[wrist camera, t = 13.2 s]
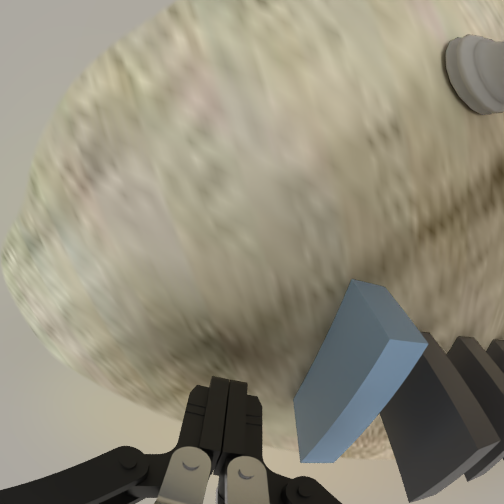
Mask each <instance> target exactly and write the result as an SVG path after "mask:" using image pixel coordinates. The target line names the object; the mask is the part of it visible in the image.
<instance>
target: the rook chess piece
mask: <svg viewBox="0 0 504 504" xmlns="http://www.w3.org/2000/svg"><path fill="white" fill-rule="evenodd" d="M446 70H447V73H448V76H449V79H450V83H451V84H452V86H453V88H454V89H455V91H456V93H457V94H458V96H459V97H460V98H461V99H462V100H463V101H464V102H465V103H466V104H467V105H468V106H469V107H470V108H471V109H472V110H474V111H476V112H478V113H480V114H482V115H485V114H492V113H502V112H504V42H495V41H493V40H492V39H487V38H484V37H482V36H476V35H466V36H464V37H463V38H460V37H457V38H455V39H454V40H452V41H450V42H449V45H448V48H447V50H446Z"/></svg>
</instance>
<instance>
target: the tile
mask: <svg viewBox="0 0 504 504" xmlns="http://www.w3.org/2000/svg"><path fill="white" fill-rule="evenodd" d="M427 346H428V342H427V341H426V340H425V338H424V337H423V336H422V334H421V333H420V331H419V330H418V329H417V327H416V326H415V325H414V323H413V322H412V321H411V319H410V318H409V317H408V316H407V314H406V313H405V312H404V310H403V309H402V308H401V307H400V305H399V304H398V303H397V301H396V300H395V299H394V298H393V296H392V295H391V294H390V293H389V291H388V290H387V289H386V288H385V287H384V286H379V285H375V284H371V283H367V282H363V281H359V280H354V279H352V280H351V282H350V284H349V287H348V289H347V292H346V294H345V296H344V298H343V301H342V303H341V305H340V308H339V310H338V312H337V314H336V316H335V319H334V321H333V323H332V325H331V327H330V329H329V332H328V334H327V336H326V338H325V340H324V342H323V344H322V346H321V348H320V350H319V352H318V354H317V356H316V358H315V360H314V362H313V364H312V366H311V368H310V370H309V372H308V373H307V375H306V377H305V379H304V381H303V383H302V385H301V386H300V388H299V390H298V392H297V394H296V396H295V397H294V399H293V402H294V411H295V419H296V428H297V436H298V445H299V454H300V462H301V463H334V462H335V461H336V460H337V459H338V458H339V457H340V456H341V455H342V454H343V453H344V452H345V451H346V450H347V449H348V448H349V447H350V446H351V445H352V444H353V443H354V441H355V440H356V439H357V438H358V437H359V436H360V435H361V434H362V433H363V432H364V430H365V429H366V428H367V427H368V426H369V425H370V424H371V422H372V421H373V420H374V419H375V418H376V417H377V415H378V414H379V413H380V412H381V411H382V409H383V408H384V407H385V406H386V404H387V403H388V402H389V400H390V399H391V398H392V397H393V395H394V394H395V393H396V391H397V390H398V389H399V387H400V386H401V384H402V383H403V382H404V380H405V379H406V378H407V376H408V375H409V373H410V372H411V370H412V369H413V367H414V366H415V364H416V363H417V361H418V360H419V358H420V357H421V355H422V354H423V352H424V350H425V349H426V347H427Z"/></svg>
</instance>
